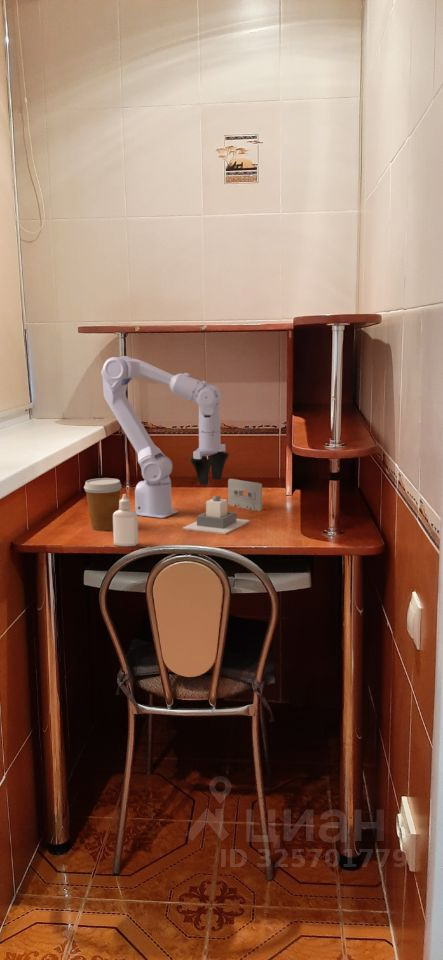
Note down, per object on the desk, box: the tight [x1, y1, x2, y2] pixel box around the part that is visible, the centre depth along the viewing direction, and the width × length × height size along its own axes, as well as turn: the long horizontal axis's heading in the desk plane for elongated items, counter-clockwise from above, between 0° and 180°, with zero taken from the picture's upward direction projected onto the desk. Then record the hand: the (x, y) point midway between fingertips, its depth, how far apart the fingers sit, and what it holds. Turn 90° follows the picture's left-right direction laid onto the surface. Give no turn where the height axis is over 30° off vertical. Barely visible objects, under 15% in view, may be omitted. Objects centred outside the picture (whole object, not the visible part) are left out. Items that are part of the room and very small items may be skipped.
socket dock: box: [182, 511, 251, 535], centre depth 197 cm, size 12×14×3 cm
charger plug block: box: [205, 495, 228, 518], centre depth 197 cm, size 4×4×7 cm
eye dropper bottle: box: [112, 493, 139, 547], centre depth 180 cm, size 4×6×12 cm
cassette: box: [227, 478, 263, 512], centre depth 216 cm, size 12×2×8 cm, turn 47°
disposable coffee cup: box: [83, 477, 123, 531], centre depth 196 cm, size 10×10×12 cm
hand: (210, 481), depth 206 cm, fingers open, 7 cm apart
